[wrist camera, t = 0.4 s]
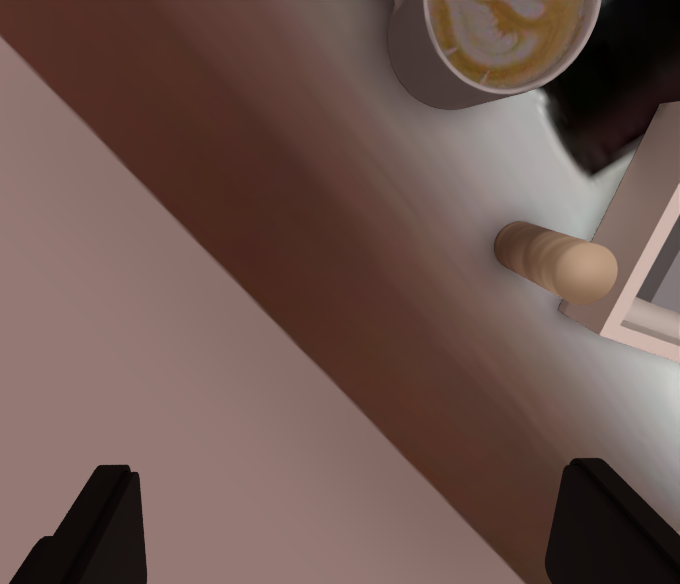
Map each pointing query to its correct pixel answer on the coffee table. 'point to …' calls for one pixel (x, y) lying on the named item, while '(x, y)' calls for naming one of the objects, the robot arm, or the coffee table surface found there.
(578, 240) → the peg
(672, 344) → the open box
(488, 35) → the coffee mug
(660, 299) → the plate
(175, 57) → the coffee table surface
